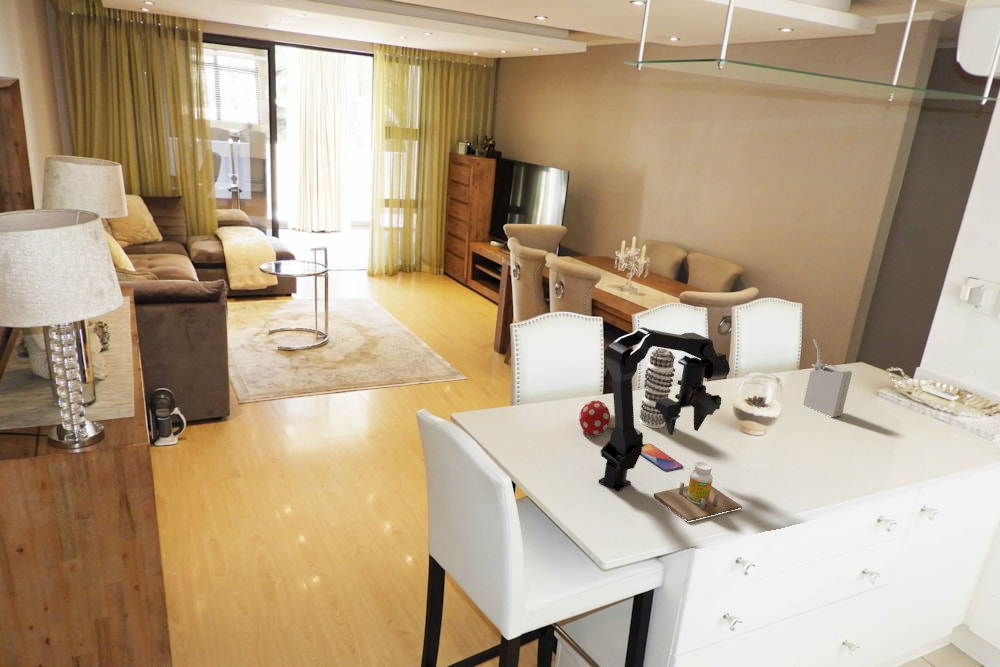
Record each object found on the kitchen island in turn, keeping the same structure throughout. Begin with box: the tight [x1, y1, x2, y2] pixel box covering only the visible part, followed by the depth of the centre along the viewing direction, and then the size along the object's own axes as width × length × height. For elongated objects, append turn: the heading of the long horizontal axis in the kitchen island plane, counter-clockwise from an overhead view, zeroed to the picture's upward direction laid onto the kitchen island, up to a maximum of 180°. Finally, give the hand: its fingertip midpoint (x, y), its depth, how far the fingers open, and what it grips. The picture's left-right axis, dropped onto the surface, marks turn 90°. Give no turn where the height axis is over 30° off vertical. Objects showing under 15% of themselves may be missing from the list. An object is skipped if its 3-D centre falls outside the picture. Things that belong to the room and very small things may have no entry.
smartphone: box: [640, 443, 683, 472], centre depth 195 cm, size 7×15×1 cm, turn 28°
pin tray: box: [653, 482, 743, 521], centre depth 171 cm, size 18×13×4 cm
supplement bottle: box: [687, 461, 713, 505], centre depth 170 cm, size 5×5×10 cm
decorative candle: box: [638, 348, 676, 429], centre depth 216 cm, size 9×9×25 cm
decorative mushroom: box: [578, 400, 615, 437], centre depth 209 cm, size 11×11×15 cm
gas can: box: [803, 338, 853, 418], centre depth 240 cm, size 15×5×25 cm, turn 26°
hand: (683, 432), depth 184 cm, fingers open, 9 cm apart
